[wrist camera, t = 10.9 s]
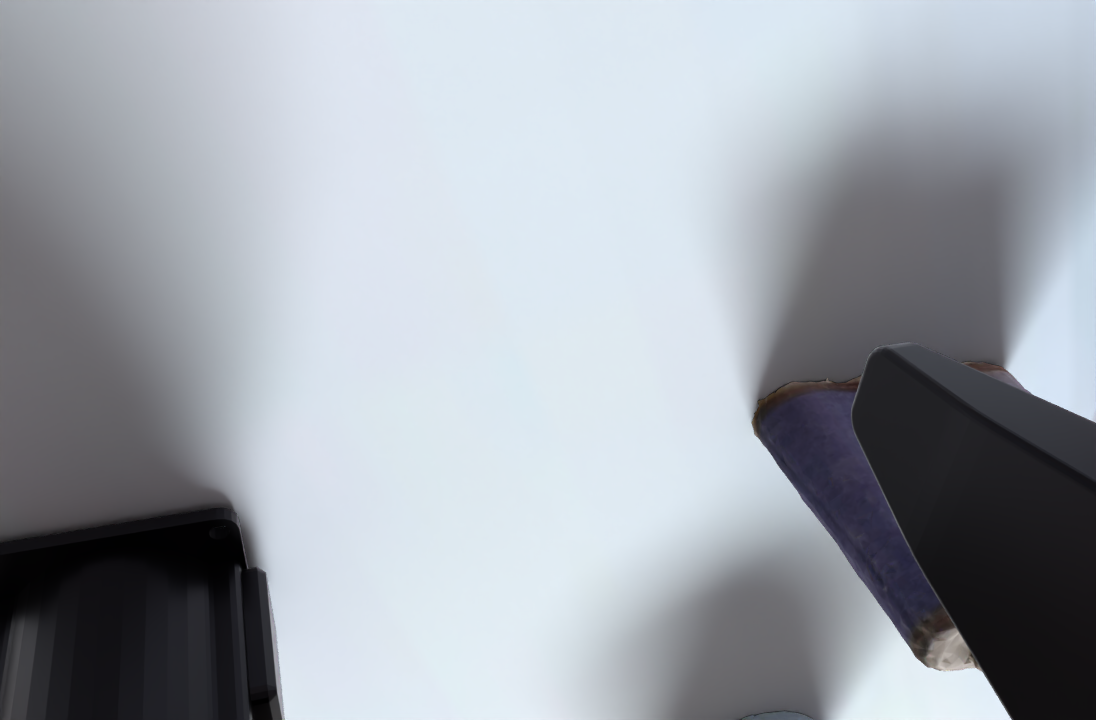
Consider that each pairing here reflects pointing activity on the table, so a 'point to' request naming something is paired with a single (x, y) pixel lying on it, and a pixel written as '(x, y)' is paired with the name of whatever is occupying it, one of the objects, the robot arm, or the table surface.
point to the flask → (860, 507)
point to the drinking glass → (778, 716)
